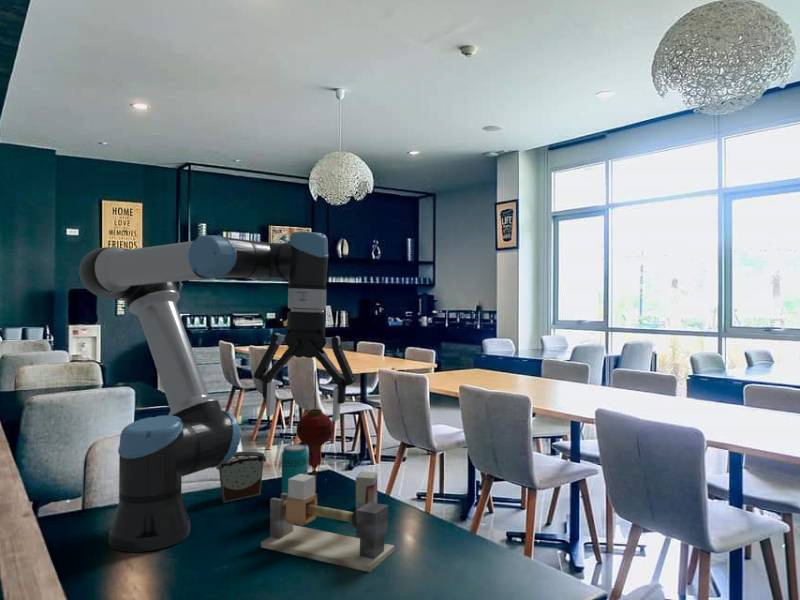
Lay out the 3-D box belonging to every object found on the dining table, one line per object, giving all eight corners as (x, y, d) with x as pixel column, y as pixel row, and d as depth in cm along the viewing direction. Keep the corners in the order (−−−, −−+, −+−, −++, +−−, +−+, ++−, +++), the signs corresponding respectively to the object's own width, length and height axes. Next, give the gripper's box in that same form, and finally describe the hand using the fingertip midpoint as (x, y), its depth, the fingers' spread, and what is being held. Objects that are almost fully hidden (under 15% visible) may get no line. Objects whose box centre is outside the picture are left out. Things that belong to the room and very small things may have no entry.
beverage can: (302, 519, 130) (302, 450, 130) (277, 517, 131) (277, 449, 131) (311, 510, 136) (311, 444, 136) (287, 508, 137) (287, 443, 137)
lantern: (320, 480, 158) (321, 368, 158) (340, 489, 151) (341, 371, 151) (288, 487, 152) (289, 370, 152) (308, 497, 145) (309, 374, 145)
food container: (254, 487, 152) (254, 448, 152) (265, 493, 147) (266, 453, 147) (207, 497, 144) (208, 456, 144) (217, 504, 139) (218, 461, 139)
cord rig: (260, 547, 115) (261, 498, 115) (291, 529, 124) (291, 484, 124) (369, 572, 105) (370, 518, 105) (394, 550, 114) (394, 501, 114)
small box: (373, 513, 134) (374, 478, 134) (355, 512, 135) (355, 477, 135) (377, 505, 139) (377, 471, 139) (359, 504, 140) (359, 471, 140)
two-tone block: (286, 522, 116) (286, 479, 116) (300, 514, 120) (300, 472, 120) (303, 525, 114) (303, 482, 114) (317, 517, 118) (317, 475, 118)
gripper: (239, 308, 116) (235, 416, 116) (363, 313, 112) (359, 425, 112) (254, 307, 123) (251, 409, 124) (372, 312, 119) (368, 417, 119)
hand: (303, 417), depth 118 cm, fingers open, 13 cm apart
